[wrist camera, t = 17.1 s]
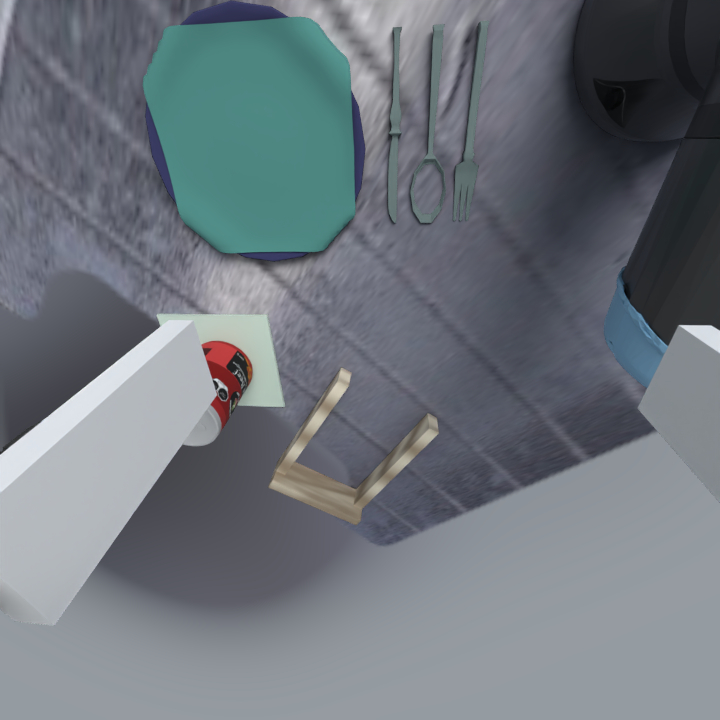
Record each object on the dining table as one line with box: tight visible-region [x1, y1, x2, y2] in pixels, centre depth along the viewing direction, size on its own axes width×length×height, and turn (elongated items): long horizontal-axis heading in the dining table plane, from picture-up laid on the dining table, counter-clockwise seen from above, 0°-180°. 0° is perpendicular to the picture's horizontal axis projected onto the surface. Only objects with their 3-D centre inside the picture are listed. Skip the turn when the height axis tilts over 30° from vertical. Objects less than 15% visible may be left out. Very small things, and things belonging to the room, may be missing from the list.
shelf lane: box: [269, 367, 439, 525], centre depth 50 cm, size 22×15×5 cm
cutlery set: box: [143, 1, 489, 262], centre depth 32 cm, size 20×30×2 cm, turn 92°
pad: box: [157, 314, 285, 407], centre depth 47 cm, size 14×14×1 cm
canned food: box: [183, 341, 253, 446], centre depth 42 cm, size 8×8×11 cm
